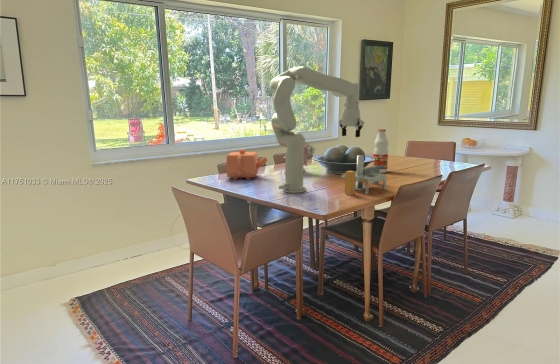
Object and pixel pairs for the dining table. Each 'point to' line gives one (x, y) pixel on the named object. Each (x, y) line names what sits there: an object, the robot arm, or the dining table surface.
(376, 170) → the bracket
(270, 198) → the dining table surface
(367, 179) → the grey metal piece
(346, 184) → the mustard rectangular block
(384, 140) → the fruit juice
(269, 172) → the dining table surface
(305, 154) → the flower
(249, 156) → the teapot
